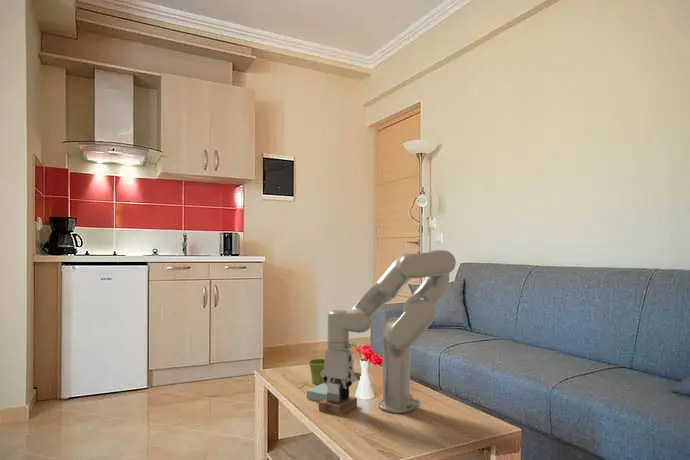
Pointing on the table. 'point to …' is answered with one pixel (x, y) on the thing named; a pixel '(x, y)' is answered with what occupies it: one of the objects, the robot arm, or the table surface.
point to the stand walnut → (338, 406)
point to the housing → (335, 391)
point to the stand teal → (318, 392)
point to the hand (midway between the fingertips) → (338, 397)
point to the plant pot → (317, 370)
